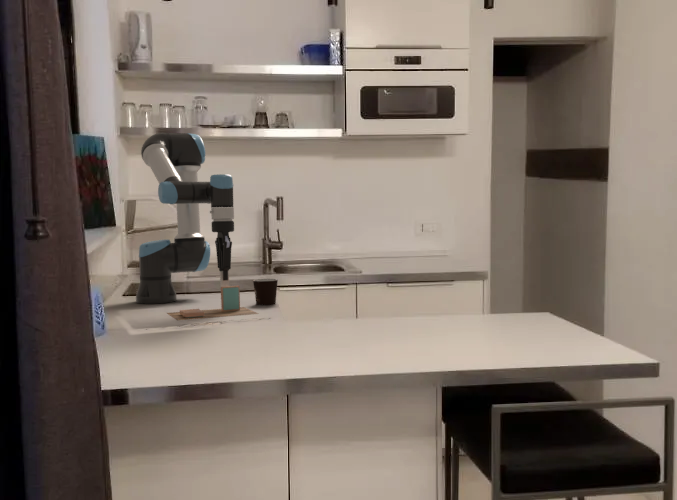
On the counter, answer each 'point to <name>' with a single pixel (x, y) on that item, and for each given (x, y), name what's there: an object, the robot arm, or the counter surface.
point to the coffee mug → (265, 291)
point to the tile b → (230, 298)
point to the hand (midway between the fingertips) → (224, 289)
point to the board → (215, 314)
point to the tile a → (192, 313)
